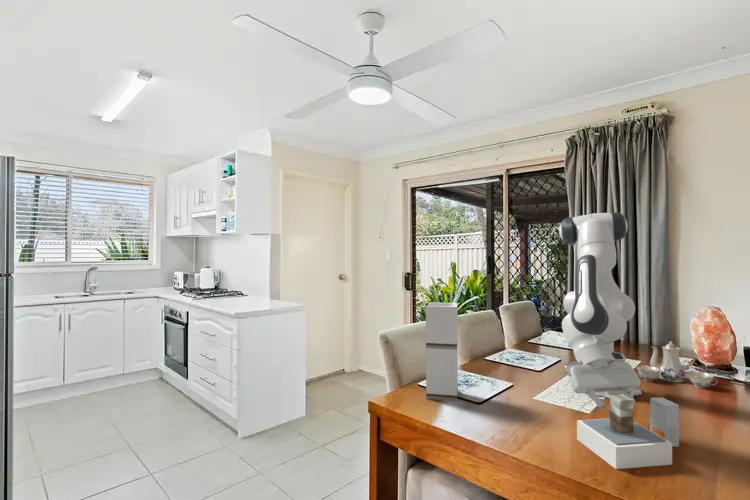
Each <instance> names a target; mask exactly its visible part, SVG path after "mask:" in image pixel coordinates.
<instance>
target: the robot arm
mask: <svg viewBox="0 0 750 500" xmlns="http://www.w3.org/2000/svg"><path fill="white" fill-rule="evenodd" d="M628 229H629V227H628V221H627V219H626V217H625V215H624V214H623V213H621V212H618V211H617V212H615V211H611V212H596V213H590V214H584V215H583V214H582V215H578V216H569V217H566V218H563V219H562V220H561V221H560V224H559V228H558V234H559V237H560V239H561V241H562V243H563V244H566V245H567V246H568V245H569V246H575V245H577V246H576V247H577V248H576V250H577V251H576V253H577V256H576V257H577V258H576V259H577V261H576V265H575V281H574V282H575V285H574V286H575V287H574V288H575V289H574V291H569V292H567V293H566V295H565V296H564V297H563V302H562V303H563V308H564V310H565V312H566V313H567V315H565V316H564V317H563V318H562V321H561V328H562V331H563V335H564V338H565V340H566V342H567V343H568V345H569V347H570V348H571V350H573V355H574V358H575V360H576V361H568V362H566V364H565V365H564V370H565V373H566V374H567V377H568V380H569V383H570V387H571V389H572V391H573V392H574V393H576V394H587V396H588V398H590V399H591V400H592V401H593V402H594V403H595V405H596V406H597V407H598V408H604V406H606V402H605V401H604V399H603V398H600V397H604V398H608V399H610V395H625V396H627V397H629V398H631V399H633V400H634V405H635V404H636V399H635V398H634V396H639V395H643V393H642V390H641V389H639V387H640V386H641V383H642V382H641V378H640V376H639V375H637V374H638V373H637V372H636V371H635V369H634V368H633V366H632V365H631V364H630V363H628V362H627V361H626V360H627V357H626V356H625V354H623V353H620V352H616V351H614V346H615V345H614V344H615V343H614V342H616V341H619V340H621V339H622V338H624V336H625V335H626V333H627V331H628V322H629V321H630V320H632V318H633V317H634V315H635V312H636V305H635V302H634V301H633V299H632V298H631V297H630V296H629V295H627V294H626V293H624V291H622V290H621V289H620V288H619V286H618V284H617V283H616V282H615V279H614V277H613V275H612V274H613V273H612V269H614V268H615V266H616V264H617V250H616V244H615V243H616V242H618V241H621V240H623V239H624V238H625V237H626V234H627V233H628Z"/></svg>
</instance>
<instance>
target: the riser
mask: <svg viewBox="0 0 750 500" xmlns="http://www.w3.org/2000/svg"><path fill="white" fill-rule="evenodd" d="M576 440H577V441H579V442H580V443H581V444H582V445H584V446H585V447H586V448H588V449H589V450H590V451H591V452H593V453H594V454H595V455H597V456H598V457H599V458H600V459H602V460H603V461H604V462H606V463H607V464H609V465H610V466H611V467H613V468H614V469H615V470H621V469H635V468H644V467H645V468H646V467H647V468H648V467H659V466H668V465H669V466H671V465H672V466H673V447H672V443H671V442H669V441H667V440H666V439H664V438H662V437H660V436H659V435H657V434H655V433H653V432H651V431H650V429H648V428H646V427H644V426H643V425H641V424H639V423H638V422H636V421H634V433H619V432H617V431H616V430H614V429H612V428H611V427H610V417H609V418H595V419H583V420H581V419H579V420H578V419H577V420H576Z"/></svg>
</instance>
